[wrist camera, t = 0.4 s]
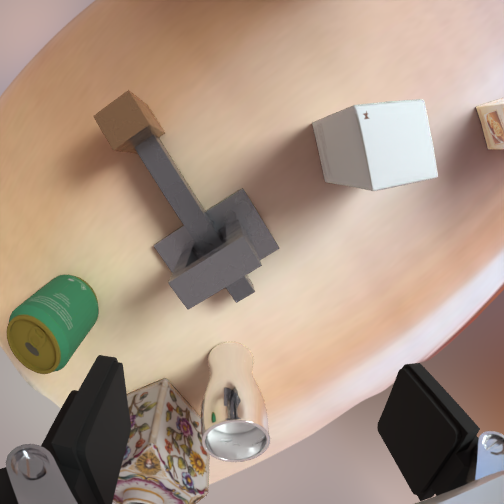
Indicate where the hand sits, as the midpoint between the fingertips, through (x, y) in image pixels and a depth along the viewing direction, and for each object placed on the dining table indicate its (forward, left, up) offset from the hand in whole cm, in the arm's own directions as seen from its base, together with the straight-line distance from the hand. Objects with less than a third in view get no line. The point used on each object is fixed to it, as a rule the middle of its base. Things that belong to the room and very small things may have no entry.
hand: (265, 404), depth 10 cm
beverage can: (+23, -4, -29) cm, 37 cm away
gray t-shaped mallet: (+3, -6, -29) cm, 29 cm away
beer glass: (+10, +14, -29) cm, 34 cm away
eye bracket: (+3, 0, -29) cm, 29 cm away
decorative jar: (+25, +17, -29) cm, 42 cm away
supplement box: (-16, -2, -29) cm, 33 cm away
